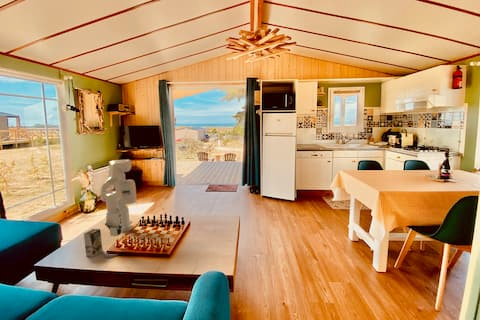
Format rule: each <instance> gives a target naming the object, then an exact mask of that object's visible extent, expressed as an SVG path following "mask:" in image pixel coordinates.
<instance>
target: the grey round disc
mask: <svg viewBox="0 0 480 320" xmlns="http://www.w3.org/2000/svg"><path fill="white" fill-rule="evenodd" d="M108 253H109V252H107V253H105V254H103V258H105V259H113V258H115V257H117V256H119V253H118V254H108Z"/></svg>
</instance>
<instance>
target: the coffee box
mask: <svg viewBox="0 0 480 320" xmlns="http://www.w3.org/2000/svg"><path fill="white" fill-rule="evenodd" d="M83 240H84V247H85V256H86V257H95V256H97V255H98V254H100V253H101V252H102V251H103V244H102V243H103V242H102V233H101V229H99V228H95V229H94V228H92V229H91V230H89V231H87V232H85V233H84V234H83Z"/></svg>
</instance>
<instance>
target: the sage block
mask: <svg viewBox="0 0 480 320" xmlns="http://www.w3.org/2000/svg"><path fill="white" fill-rule="evenodd" d="M117 230H118V228H117V226H112V227H111V228H110V230H109V234H110V237H118V236H119V235H118V232H117Z"/></svg>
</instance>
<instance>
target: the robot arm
mask: <svg viewBox="0 0 480 320" xmlns="http://www.w3.org/2000/svg"><path fill="white" fill-rule="evenodd" d="M132 165H133V164H132V160H131V159H115V160H111V161H109V162H108V167H109V170H108V178H107V179H106V180H105V181H104V182H103V184H102V185H101V188H100V200H101V201H102V202H105V204H106V217H105V218H106V221H105V223H104V225H105V227H107V228H108V230H109V231H110V228H111V227H112V226H117V228H118V230H117V232H118V236H119V235H121V234H122V233H124V232H128V231H130V230H132V229H133V225H131V224H132V223H133V221H132V220H130V212H129V208H128V206H127V205H129V204H135V203H136V202H137V188H136V187H137V186H136V182H135V180H134V179H126V173H127V172H130V171H131V170H132ZM112 186H114V189H112V190H107V189H109V188H110V187H112Z"/></svg>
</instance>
